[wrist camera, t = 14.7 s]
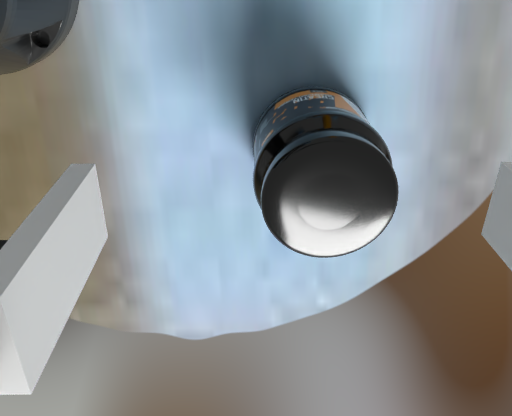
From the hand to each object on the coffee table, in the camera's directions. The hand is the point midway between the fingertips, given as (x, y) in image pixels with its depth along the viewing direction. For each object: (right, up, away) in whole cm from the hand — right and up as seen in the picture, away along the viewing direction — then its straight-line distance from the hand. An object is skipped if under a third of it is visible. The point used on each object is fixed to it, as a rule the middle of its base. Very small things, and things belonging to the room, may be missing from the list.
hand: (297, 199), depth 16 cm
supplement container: (+4, +6, +28) cm, 28 cm away
